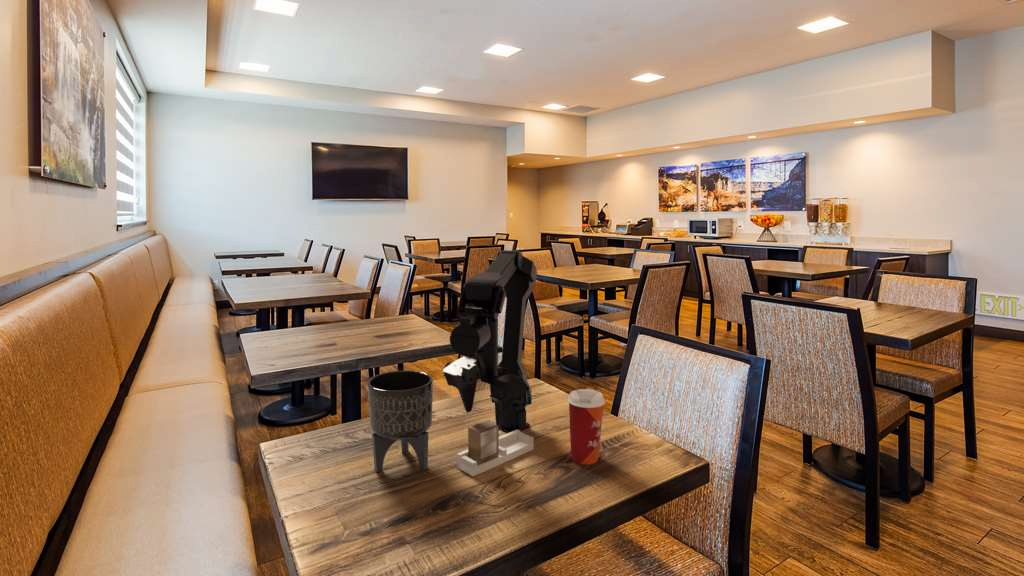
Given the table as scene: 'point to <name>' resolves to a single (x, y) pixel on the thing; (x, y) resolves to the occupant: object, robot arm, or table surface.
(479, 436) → the tall taupe pillar block
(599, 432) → the paper cup
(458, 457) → the white tray base
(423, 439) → the planter
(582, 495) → the table surface
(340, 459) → the table surface
